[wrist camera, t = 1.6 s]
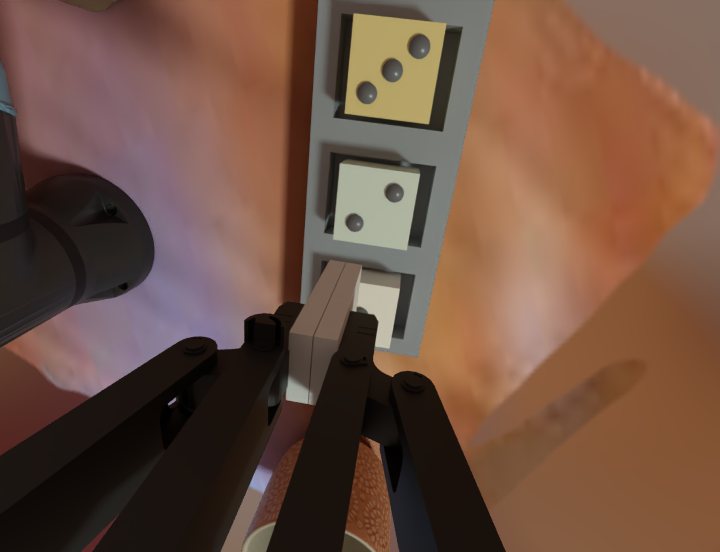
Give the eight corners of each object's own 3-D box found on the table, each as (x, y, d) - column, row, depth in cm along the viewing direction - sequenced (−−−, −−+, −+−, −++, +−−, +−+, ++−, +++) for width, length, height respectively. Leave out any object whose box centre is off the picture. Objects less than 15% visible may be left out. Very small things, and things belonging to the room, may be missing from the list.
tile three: (351, 113, 35) (344, 113, 31) (360, 25, 32) (353, 12, 28) (426, 123, 34) (428, 124, 31) (442, 34, 32) (446, 22, 28)
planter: (261, 459, 59) (215, 566, 45) (322, 394, 52) (290, 495, 38) (349, 514, 61) (331, 632, 47) (418, 458, 54) (420, 575, 41)
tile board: (306, 320, 48) (298, 337, 44) (329, -5, 34) (319, -19, 30) (417, 338, 47) (418, 357, 43) (485, 12, 33) (494, -1, 30)
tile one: (331, 319, 44) (323, 338, 40) (336, 263, 41) (329, 278, 37) (391, 329, 43) (389, 349, 39) (400, 273, 40) (399, 289, 37)
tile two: (340, 228, 39) (332, 240, 36) (347, 158, 37) (339, 163, 33) (407, 238, 39) (406, 251, 35) (419, 168, 36) (420, 174, 32)
